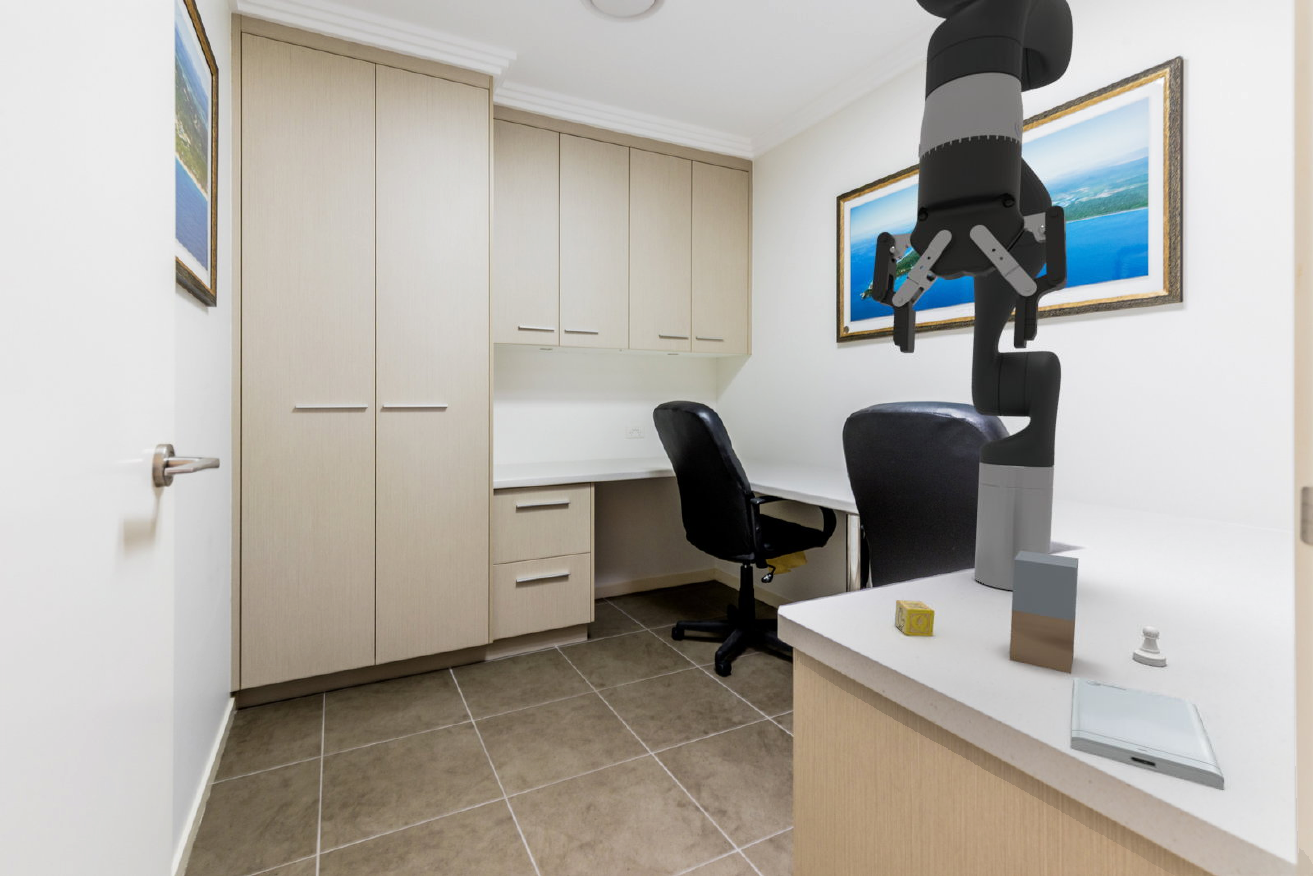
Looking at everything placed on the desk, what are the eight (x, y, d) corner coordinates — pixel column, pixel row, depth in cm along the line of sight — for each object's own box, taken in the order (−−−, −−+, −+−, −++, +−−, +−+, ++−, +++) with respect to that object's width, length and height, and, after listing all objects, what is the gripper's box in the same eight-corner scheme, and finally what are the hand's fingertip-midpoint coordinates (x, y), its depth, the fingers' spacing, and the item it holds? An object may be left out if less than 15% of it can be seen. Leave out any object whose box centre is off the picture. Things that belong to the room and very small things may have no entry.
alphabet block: (921, 627, 69) (922, 600, 69) (933, 637, 66) (935, 609, 66) (894, 626, 69) (895, 599, 69) (905, 636, 66) (906, 608, 66)
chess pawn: (1160, 659, 61) (1162, 624, 61) (1170, 669, 59) (1172, 633, 59) (1128, 655, 62) (1130, 621, 62) (1137, 664, 60) (1139, 629, 60)
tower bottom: (1015, 645, 64) (1017, 598, 64) (1073, 657, 61) (1075, 608, 61) (1009, 660, 60) (1011, 609, 60) (1070, 674, 57) (1073, 621, 57)
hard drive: (1073, 675, 54) (1070, 733, 44) (1196, 702, 49) (1225, 772, 39) (1072, 694, 54) (1069, 755, 44) (1195, 722, 49) (1223, 798, 39)
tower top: (1017, 598, 64) (1020, 550, 64) (1075, 608, 61) (1078, 558, 61) (1011, 609, 60) (1014, 559, 60) (1073, 621, 57) (1076, 567, 57)
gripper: (1075, 148, 49) (1065, 351, 50) (892, 183, 57) (885, 357, 58) (1071, 109, 43) (1060, 341, 44) (867, 155, 51) (860, 349, 52)
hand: (960, 350), depth 51 cm, fingers open, 8 cm apart
